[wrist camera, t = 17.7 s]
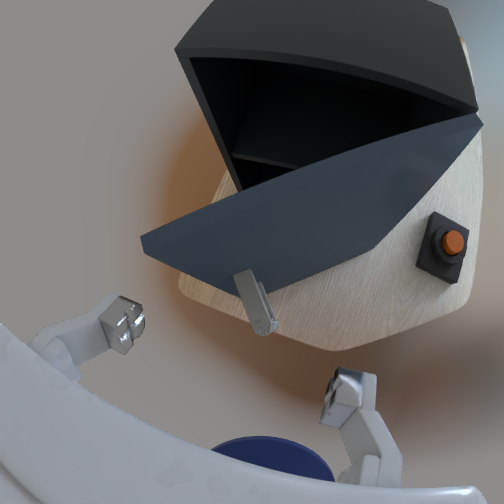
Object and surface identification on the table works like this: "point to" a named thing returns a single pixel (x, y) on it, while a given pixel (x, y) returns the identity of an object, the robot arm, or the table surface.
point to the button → (452, 242)
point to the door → (308, 216)
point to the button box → (441, 249)
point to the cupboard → (320, 77)
